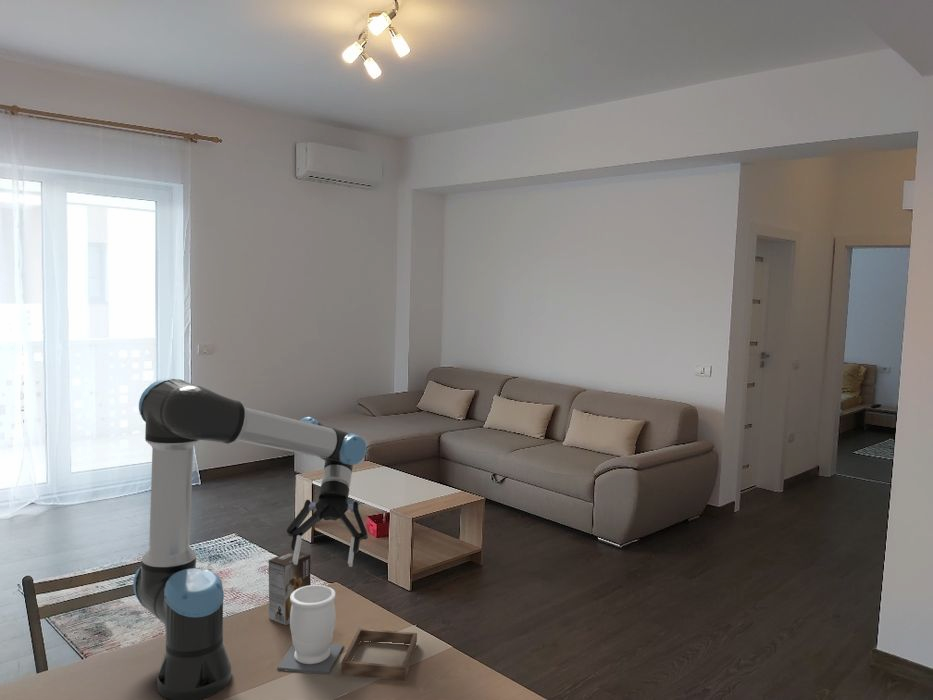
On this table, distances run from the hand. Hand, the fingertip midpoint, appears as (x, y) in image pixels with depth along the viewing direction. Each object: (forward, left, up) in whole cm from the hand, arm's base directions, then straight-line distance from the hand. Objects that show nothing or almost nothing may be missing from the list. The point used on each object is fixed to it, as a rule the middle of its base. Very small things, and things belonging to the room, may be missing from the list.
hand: (322, 563), depth 173 cm
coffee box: (-11, +9, -19) cm, 24 cm away
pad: (+1, -10, -19) cm, 21 cm away
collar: (+17, -8, -19) cm, 26 cm away
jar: (+1, -10, -18) cm, 21 cm away
